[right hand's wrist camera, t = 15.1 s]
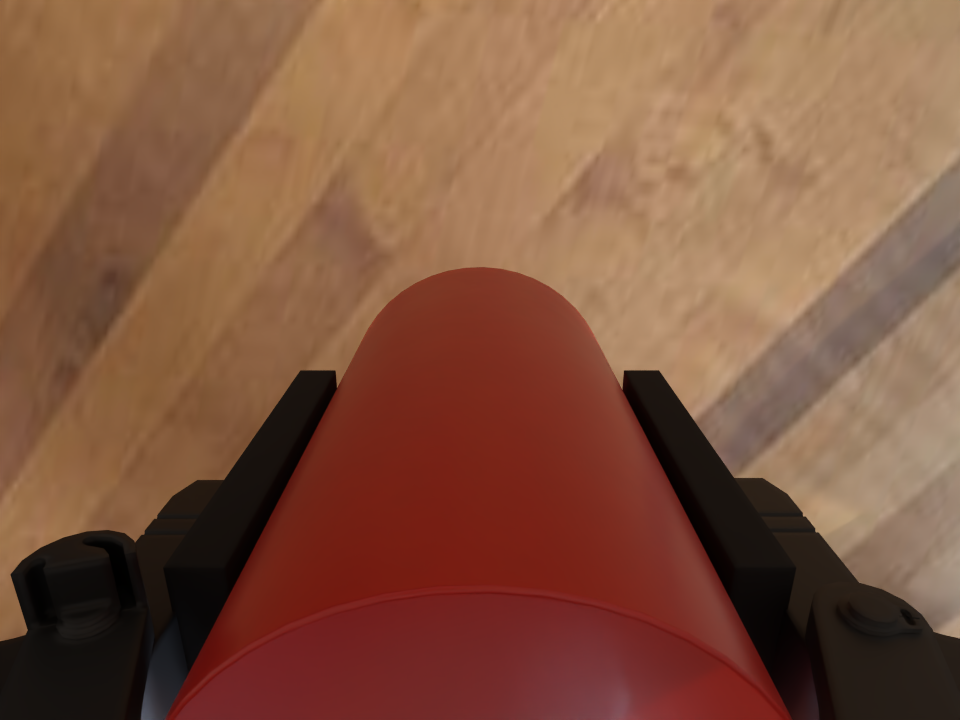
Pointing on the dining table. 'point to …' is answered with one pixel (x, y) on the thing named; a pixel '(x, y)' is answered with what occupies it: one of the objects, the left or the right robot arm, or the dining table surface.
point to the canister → (478, 541)
